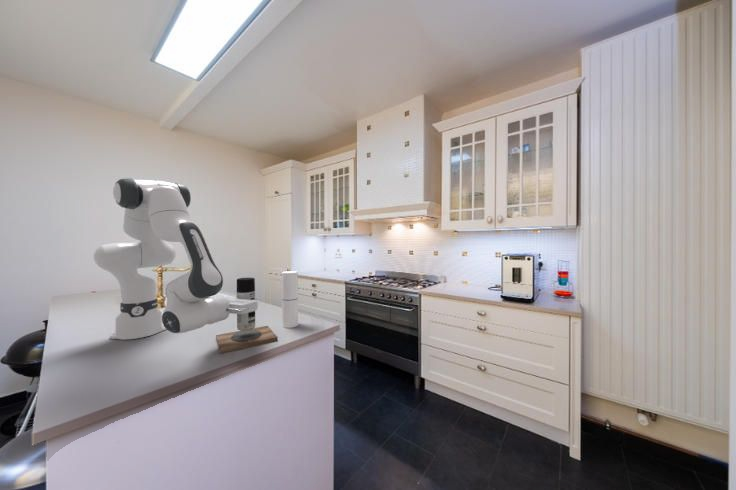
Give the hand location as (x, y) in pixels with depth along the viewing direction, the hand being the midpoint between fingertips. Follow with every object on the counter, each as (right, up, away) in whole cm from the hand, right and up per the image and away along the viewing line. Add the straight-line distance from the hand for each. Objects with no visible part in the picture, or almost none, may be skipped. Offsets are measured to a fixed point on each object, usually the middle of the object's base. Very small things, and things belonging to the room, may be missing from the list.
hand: (247, 300), depth 104 cm
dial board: (0, -16, 0) cm, 16 cm away
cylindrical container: (+12, -16, +17) cm, 26 cm away
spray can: (-1, -11, -1) cm, 11 cm away
